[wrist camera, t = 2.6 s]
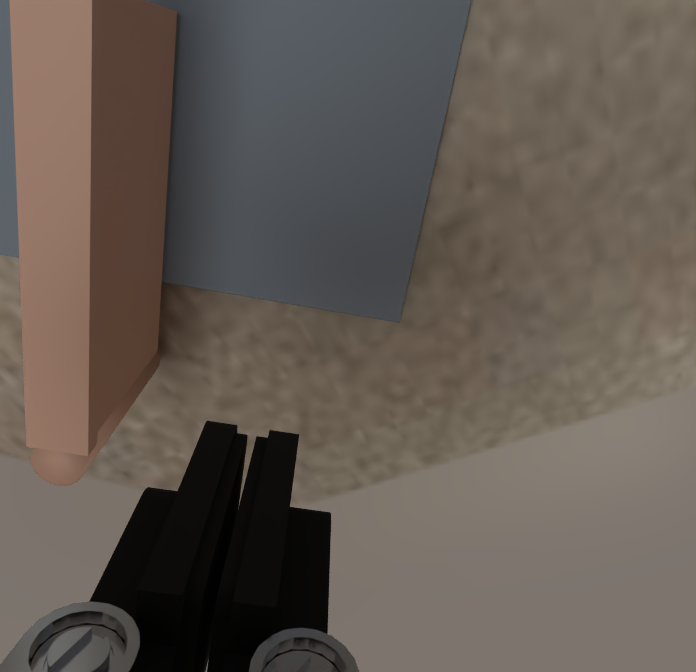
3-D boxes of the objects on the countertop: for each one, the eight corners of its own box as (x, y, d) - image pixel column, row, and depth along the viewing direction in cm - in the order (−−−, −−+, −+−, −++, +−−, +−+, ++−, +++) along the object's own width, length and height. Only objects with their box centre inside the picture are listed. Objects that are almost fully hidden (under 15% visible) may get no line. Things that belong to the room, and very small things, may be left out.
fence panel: (129, 2, 18) (7, -35, 12) (184, 12, 18) (92, -19, 12) (117, 371, 23) (27, 480, 16) (161, 378, 23) (87, 490, 17)
